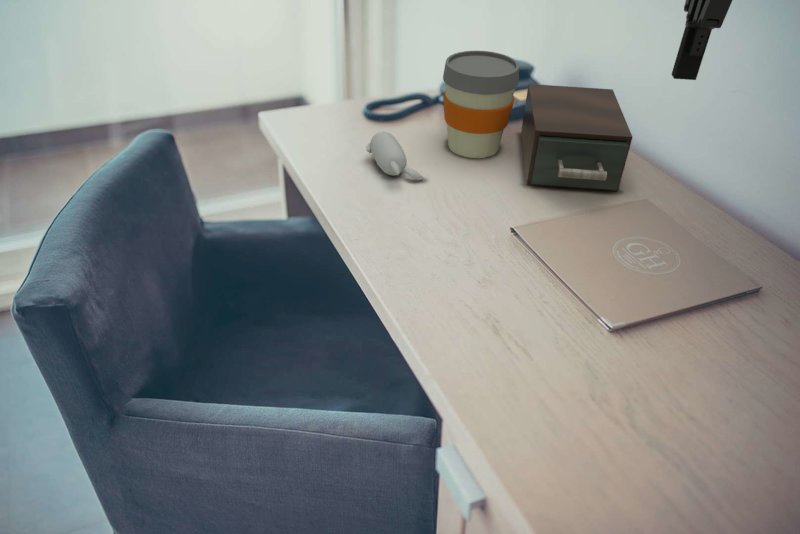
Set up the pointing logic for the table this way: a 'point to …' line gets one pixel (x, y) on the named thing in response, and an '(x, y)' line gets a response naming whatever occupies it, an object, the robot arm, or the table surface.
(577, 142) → the drawer
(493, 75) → the reusable coffee cup
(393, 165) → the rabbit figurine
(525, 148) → the cabinet
